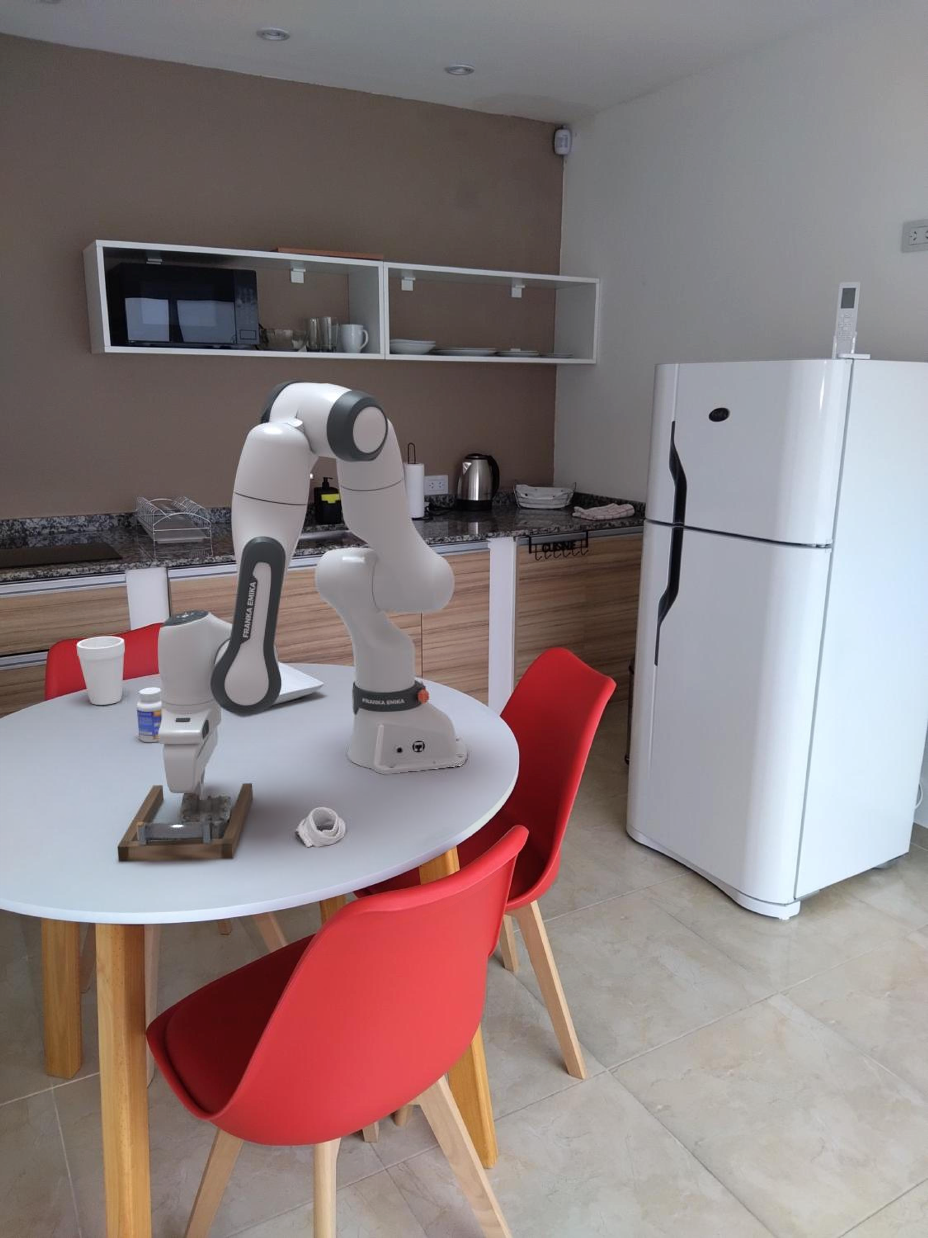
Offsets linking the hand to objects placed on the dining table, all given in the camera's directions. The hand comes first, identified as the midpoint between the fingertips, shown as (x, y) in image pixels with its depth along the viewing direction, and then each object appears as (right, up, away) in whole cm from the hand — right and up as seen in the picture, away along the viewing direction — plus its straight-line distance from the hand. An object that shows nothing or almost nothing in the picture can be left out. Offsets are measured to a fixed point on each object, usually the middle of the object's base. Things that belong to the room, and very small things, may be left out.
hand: (197, 794), depth 143 cm
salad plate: (-3, +11, +56) cm, 57 cm away
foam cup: (-35, +10, +50) cm, 62 cm away
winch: (+1, -4, -15) cm, 15 cm away
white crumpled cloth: (+21, -6, -7) cm, 23 cm away
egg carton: (+1, -6, -7) cm, 9 cm away
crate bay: (+1, -5, -5) cm, 7 cm away
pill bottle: (-17, +5, +30) cm, 35 cm away
